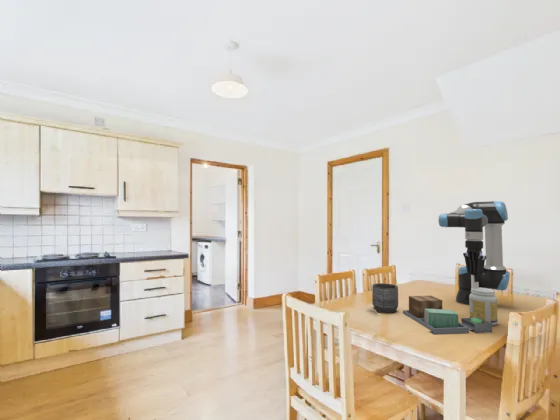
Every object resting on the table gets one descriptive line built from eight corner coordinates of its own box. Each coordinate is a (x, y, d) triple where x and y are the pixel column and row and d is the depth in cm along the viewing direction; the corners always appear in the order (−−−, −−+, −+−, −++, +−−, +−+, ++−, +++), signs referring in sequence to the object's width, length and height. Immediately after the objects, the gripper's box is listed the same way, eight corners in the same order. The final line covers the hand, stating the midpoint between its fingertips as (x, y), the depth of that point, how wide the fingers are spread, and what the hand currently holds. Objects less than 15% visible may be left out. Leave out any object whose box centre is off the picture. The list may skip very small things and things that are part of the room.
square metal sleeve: (478, 325, 152) (478, 317, 153) (492, 332, 144) (492, 323, 144) (461, 326, 152) (461, 318, 152) (474, 332, 143) (474, 324, 143)
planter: (399, 309, 179) (398, 284, 179) (397, 316, 166) (397, 289, 166) (374, 306, 185) (374, 282, 185) (370, 313, 172) (370, 287, 172)
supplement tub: (490, 319, 163) (489, 287, 163) (502, 327, 151) (502, 292, 151) (465, 317, 165) (464, 286, 165) (475, 325, 153) (475, 291, 153)
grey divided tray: (432, 313, 171) (432, 309, 171) (469, 333, 142) (469, 327, 142) (402, 314, 170) (402, 310, 170) (434, 334, 141) (433, 328, 141)
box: (459, 329, 144) (458, 313, 144) (428, 327, 146) (428, 312, 147) (452, 324, 151) (452, 309, 152) (424, 322, 154) (423, 308, 154)
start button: (477, 325, 150) (477, 317, 150) (484, 328, 146) (483, 320, 146) (468, 325, 150) (468, 317, 150) (475, 329, 145) (475, 320, 145)
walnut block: (431, 313, 169) (430, 295, 169) (442, 319, 159) (442, 300, 159) (408, 314, 167) (408, 296, 168) (418, 320, 157) (418, 300, 158)
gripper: (457, 239, 156) (458, 285, 155) (476, 241, 143) (477, 291, 143) (471, 239, 157) (472, 285, 156) (491, 241, 144) (492, 291, 143)
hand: (475, 288), depth 149 cm, fingers closed
